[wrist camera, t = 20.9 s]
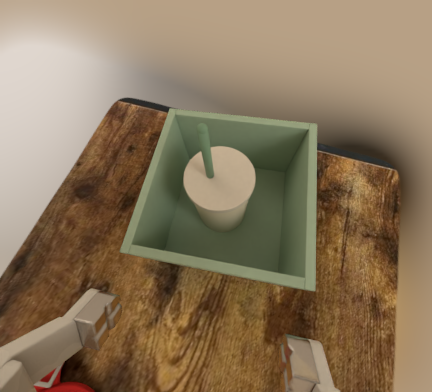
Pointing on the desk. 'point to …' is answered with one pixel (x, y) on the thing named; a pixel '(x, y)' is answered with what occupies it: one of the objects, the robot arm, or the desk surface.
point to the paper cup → (219, 183)
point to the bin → (256, 207)
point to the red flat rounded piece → (59, 383)
